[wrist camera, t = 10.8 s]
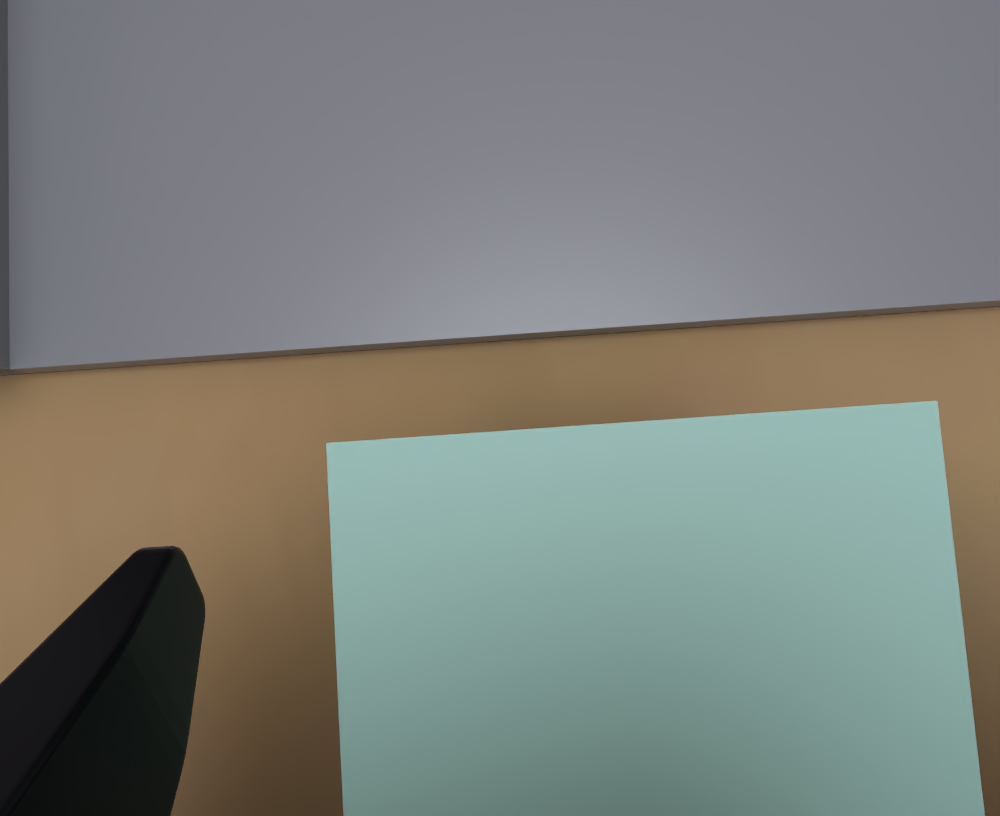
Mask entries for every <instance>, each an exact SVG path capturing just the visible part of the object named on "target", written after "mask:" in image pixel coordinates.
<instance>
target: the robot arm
mask: <svg viewBox="0 0 1000 816" xmlns="http://www.w3.org/2000/svg"><path fill="white" fill-rule="evenodd" d="M204 621H205V603H204V598H203V595H202V592H201V590H200V588H199V585H198V583H197V581H196V578H195V576H194V574H193V572H192V569H191V567H190V565H189V563H188V560H187V558H186V556H185V554H184V552H183V551H182V550H181V549H180V548H178V547H175V546H164V547H147V548H142V549H139V550H138V551H136V552H134V553H133V554H132V555H131V556H130V557H129V558H128V559H127V560H126V561H125V562H124V563H123V564H122V565H121V566H120V567H119V568H118V569H117V570H116V571H115V572H114V573H113V574H112V575H111V576H110V577H109V578H108V579H107V580H106V581H104V582H103V583H102V584H101V585H100V586H99V587H98V588H97V589H96V590H95V591H94V592H93V593H92V594H91V595H90V596H89V597H88V598H87V599H86V600H85V601H84V602H83V603H82V604H81V605H80V606H79V607H78V608H77V609H76V610H75V611H74V612H73V613H72V614H71V615H70V616H69V617H68V618H67V619H66V620H65V621H64V622H63V623H62V624H61V625H60V626H59V627H58V628H57V629H56V630H55V631H54V632H53V633H52V634H50V635H49V636H48V637H47V638H46V639H45V640H44V641H43V642H42V643H41V644H40V645H39V646H38V647H37V648H36V649H35V650H34V651H33V652H32V653H31V654H30V655H29V656H28V657H27V658H26V659H25V660H24V661H23V662H22V663H21V664H20V665H19V666H18V667H17V668H16V669H15V670H14V671H13V672H12V673H11V674H10V675H9V676H8V677H7V678H6V679H5V680H4V681H3V682H2V683H1V684H0V816H170V815H171V811H172V807H173V803H174V799H175V795H176V791H177V788H178V784H179V780H180V776H181V771H182V767H183V763H184V758H185V754H186V748H187V742H188V736H189V729H190V722H191V715H192V708H193V700H194V693H195V686H196V679H197V672H198V665H199V657H200V650H201V643H202V636H203V629H204Z"/></svg>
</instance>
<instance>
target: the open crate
mask: <svg viewBox="0 0 1000 816" xmlns="http://www.w3.org/2000/svg"><path fill="white" fill-rule="evenodd" d="M995 306H1000V0H0V375H13V374H28V373H42V372H56V371H71V370H85V369H100V368H114V367H129V366H143V365H157V364H172V363H186V362H201V361H215V360H230V359H244V358H259V357H273V356H287V355H302V354H316V353H331V352H345V351H360V350H374V349H388V348H403V347H417V346H432V345H446V344H461V343H475V342H489V341H504V340H518V339H533V338H547V337H562V336H576V335H591V334H605V333H619V332H634V331H648V330H663V329H677V328H692V327H706V326H720V325H735V324H749V323H764V322H778V321H793V320H807V319H821V318H836V317H850V316H865V315H879V314H894V313H908V312H923V311H937V310H951V309H966V308H980V307H995Z"/></svg>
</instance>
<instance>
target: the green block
mask: <svg viewBox="0 0 1000 816" xmlns="http://www.w3.org/2000/svg"><path fill="white" fill-rule="evenodd" d="M326 450H327V471H328V493H329V515H330V536H331V558H332V580H333V601H334V623H335V645H336V666H337V688H338V710H339V731H340V753H341V774H342V796H343V816H985V812H984V803H983V794H982V786H981V777H980V768H979V760H978V751H977V742H976V734H975V725H974V716H973V707H972V699H971V690H970V681H969V673H968V664H967V655H966V646H965V638H964V629H963V620H962V612H961V603H960V594H959V586H958V577H957V568H956V559H955V551H954V542H953V533H952V525H951V516H950V507H949V498H948V490H947V481H946V472H945V464H944V455H943V446H942V438H941V429H940V420H939V411H938V403H937V401H926V402H911V403H897V404H882V405H868V406H854V407H839V408H825V409H810V410H796V411H782V412H767V413H753V414H738V415H724V416H710V417H695V418H681V419H666V420H652V421H638V422H623V423H609V424H594V425H580V426H566V427H551V428H537V429H522V430H508V431H494V432H479V433H465V434H450V435H436V436H422V437H407V438H393V439H378V440H364V441H350V442H335V443H326Z"/></svg>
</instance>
